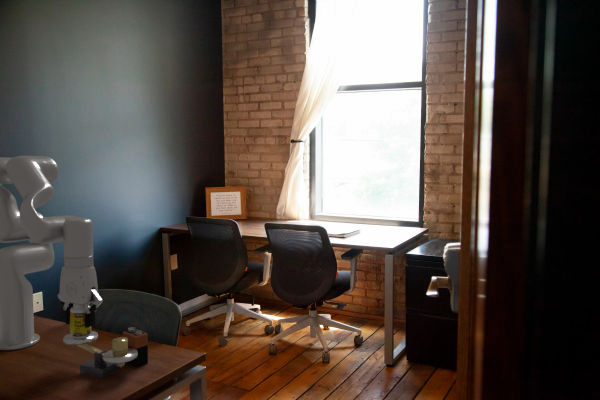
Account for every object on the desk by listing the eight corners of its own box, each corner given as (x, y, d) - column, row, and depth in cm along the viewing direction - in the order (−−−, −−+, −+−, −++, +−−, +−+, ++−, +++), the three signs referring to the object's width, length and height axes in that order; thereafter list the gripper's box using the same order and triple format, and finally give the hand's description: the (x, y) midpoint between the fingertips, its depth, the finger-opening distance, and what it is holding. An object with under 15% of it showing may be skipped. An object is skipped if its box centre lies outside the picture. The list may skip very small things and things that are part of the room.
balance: (56, 370, 134) (55, 339, 133) (81, 358, 142) (81, 329, 142) (122, 385, 126) (121, 351, 125) (144, 371, 134) (144, 340, 133)
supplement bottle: (71, 340, 132) (71, 304, 131) (68, 334, 137) (68, 299, 136) (93, 337, 135) (93, 302, 134) (89, 330, 140) (89, 296, 139)
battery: (135, 357, 143) (134, 325, 143) (148, 363, 139) (148, 330, 139) (122, 362, 140) (121, 328, 139) (135, 368, 136) (135, 334, 135)
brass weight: (109, 355, 130) (108, 341, 129) (119, 350, 133) (119, 336, 133) (120, 357, 128) (120, 343, 128) (131, 352, 132) (131, 338, 132)
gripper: (44, 262, 134) (46, 324, 135) (92, 267, 128) (94, 333, 129) (66, 257, 141) (68, 316, 142) (113, 262, 135) (114, 324, 136)
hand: (80, 324), depth 135 cm, fingers open, 6 cm apart
